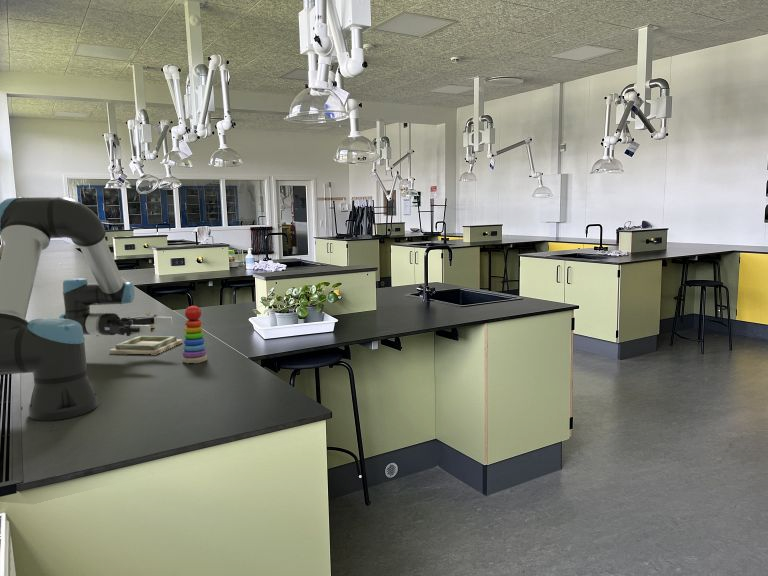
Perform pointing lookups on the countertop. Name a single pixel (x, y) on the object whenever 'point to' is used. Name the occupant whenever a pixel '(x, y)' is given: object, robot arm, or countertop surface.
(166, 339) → the rimmed tray
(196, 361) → the stacking toy
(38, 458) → the countertop surface
